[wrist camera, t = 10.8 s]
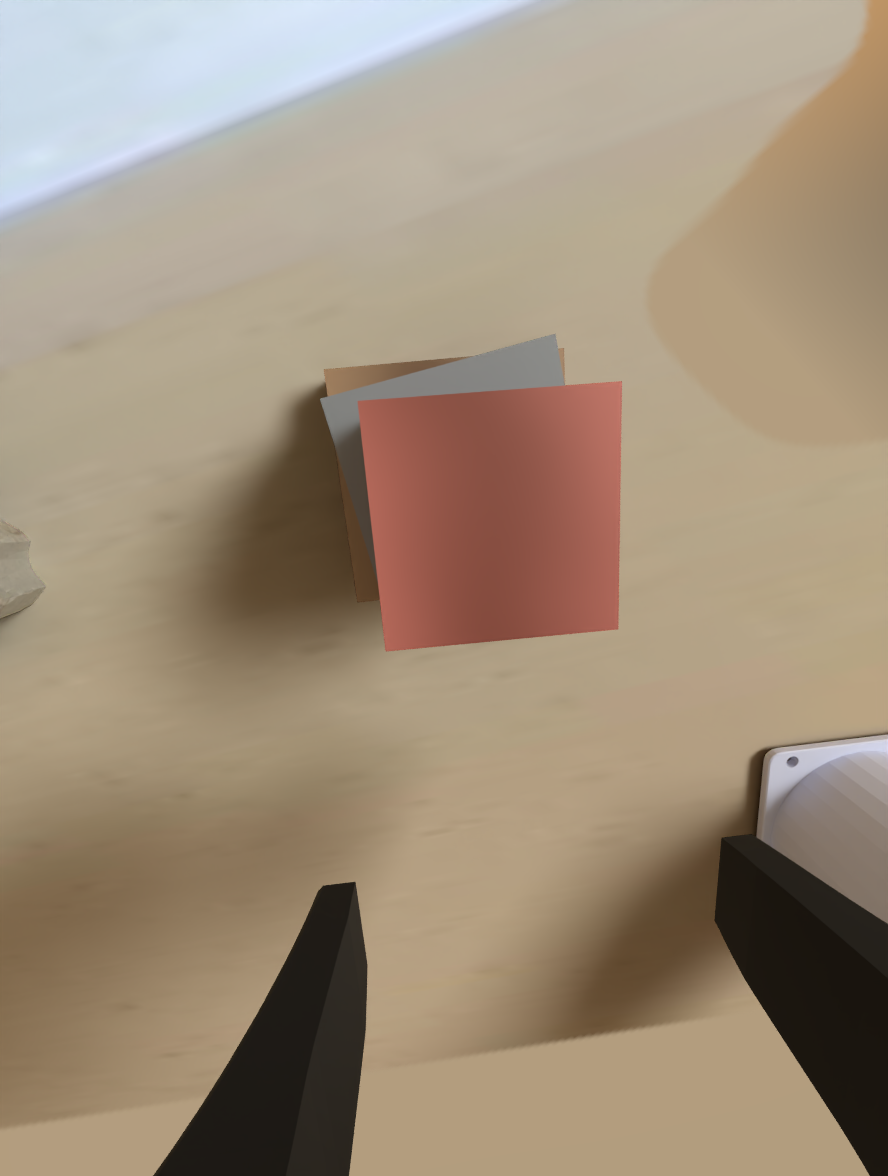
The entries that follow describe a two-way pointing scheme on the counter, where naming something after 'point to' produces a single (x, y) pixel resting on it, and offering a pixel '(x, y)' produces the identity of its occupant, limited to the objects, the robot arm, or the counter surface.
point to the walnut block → (336, 384)
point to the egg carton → (16, 572)
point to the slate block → (474, 374)
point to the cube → (495, 513)
